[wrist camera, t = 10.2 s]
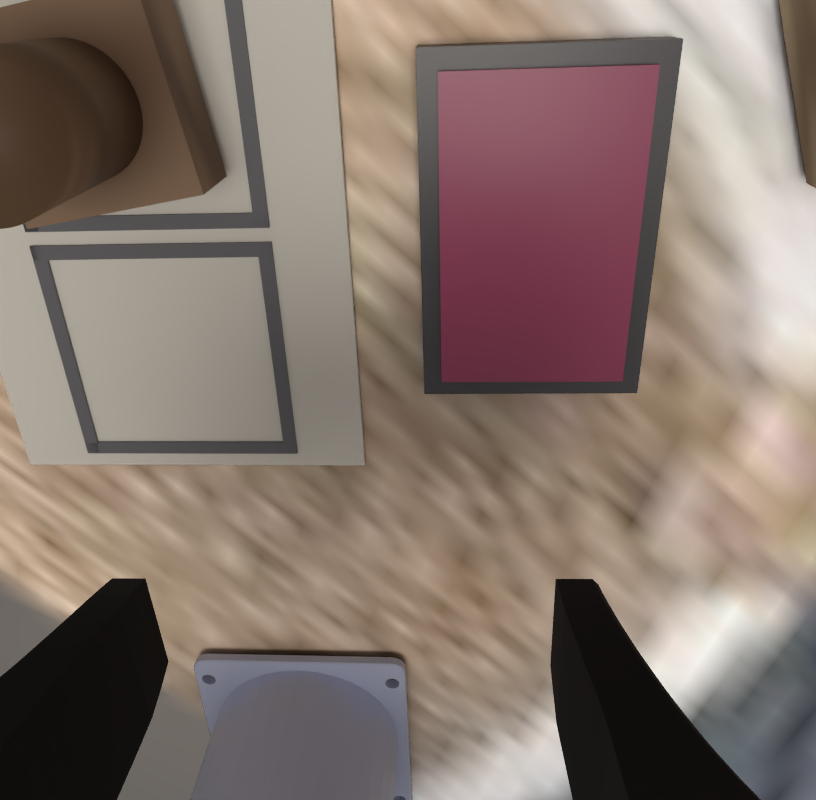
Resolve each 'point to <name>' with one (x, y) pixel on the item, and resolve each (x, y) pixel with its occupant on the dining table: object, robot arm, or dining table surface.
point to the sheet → (204, 279)
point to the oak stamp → (802, 74)
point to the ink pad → (540, 210)
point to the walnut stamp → (98, 111)
